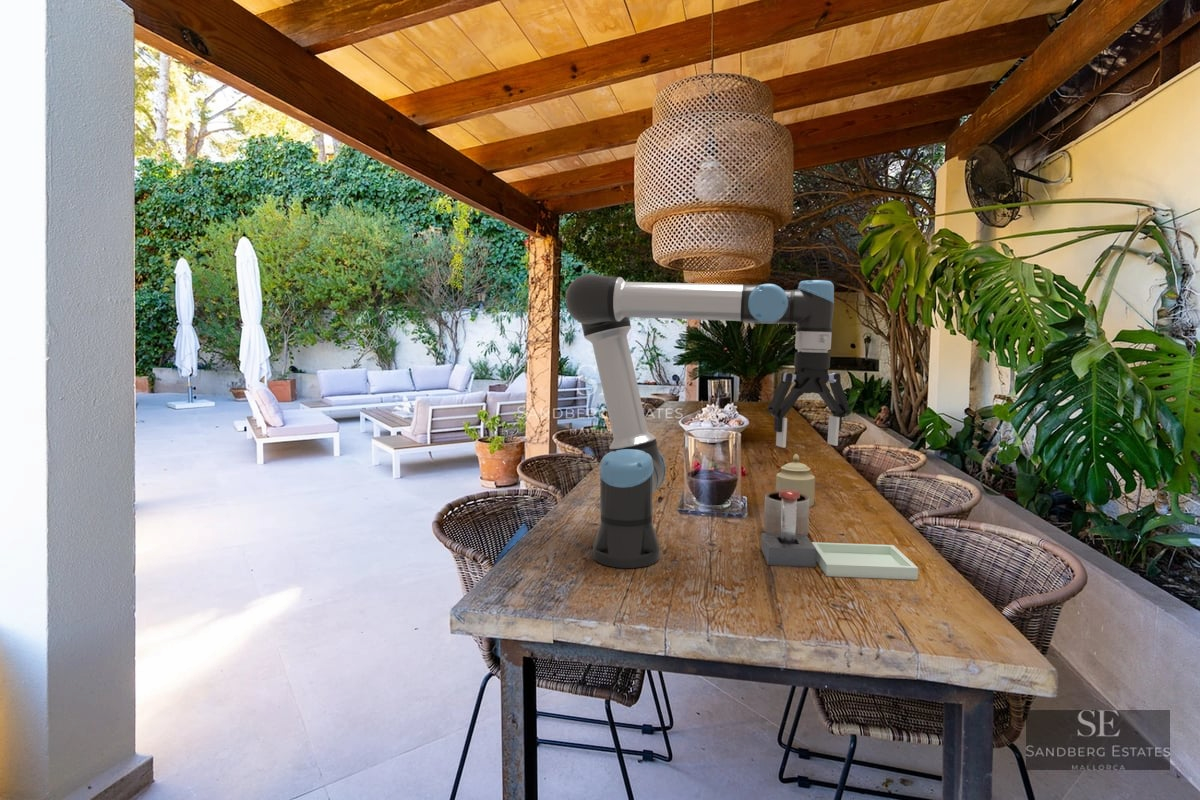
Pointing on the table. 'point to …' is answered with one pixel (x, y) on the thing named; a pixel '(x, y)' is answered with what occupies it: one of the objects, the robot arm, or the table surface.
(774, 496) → the planter
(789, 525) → the red capped tube
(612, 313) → the robot arm
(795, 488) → the sugar bowl
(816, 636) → the table surface
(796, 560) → the block
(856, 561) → the tray
